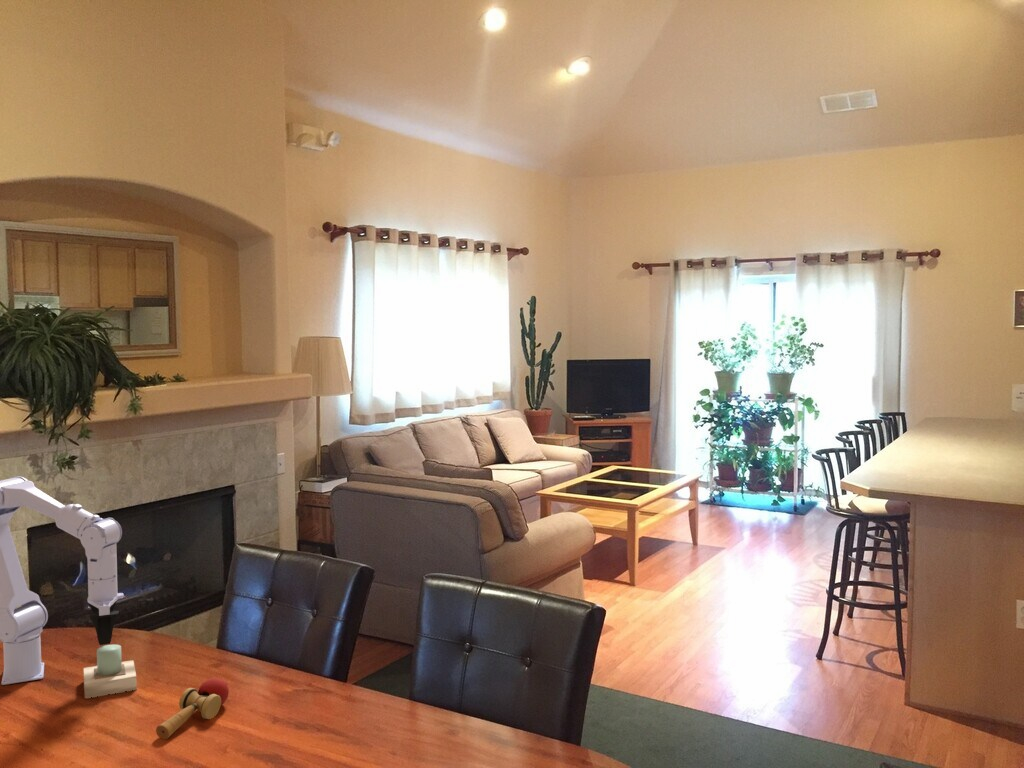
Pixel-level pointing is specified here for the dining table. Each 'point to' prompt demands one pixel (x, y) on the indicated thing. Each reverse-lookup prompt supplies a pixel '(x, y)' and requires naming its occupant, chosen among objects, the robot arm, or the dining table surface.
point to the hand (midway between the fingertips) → (104, 638)
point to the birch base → (109, 681)
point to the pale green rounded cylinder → (109, 660)
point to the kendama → (196, 705)
